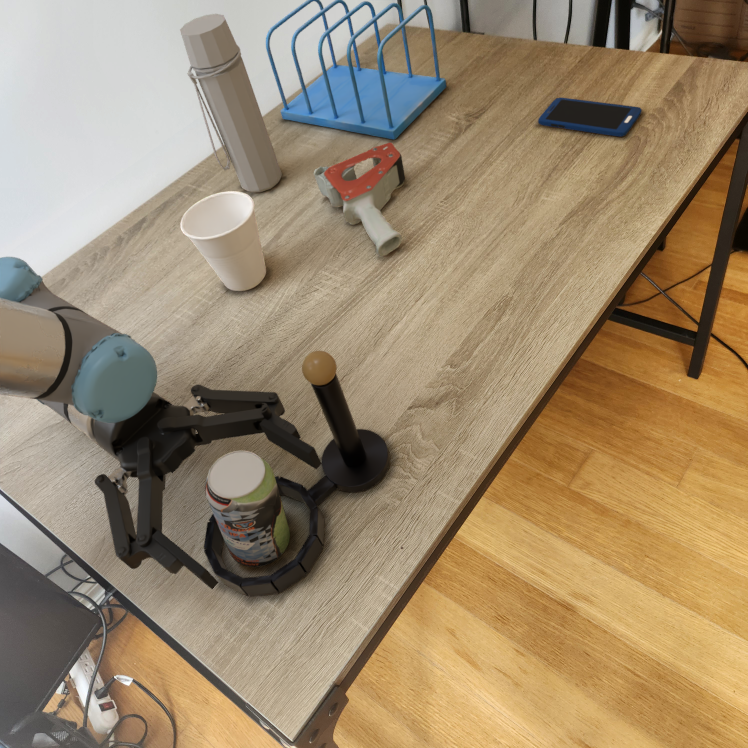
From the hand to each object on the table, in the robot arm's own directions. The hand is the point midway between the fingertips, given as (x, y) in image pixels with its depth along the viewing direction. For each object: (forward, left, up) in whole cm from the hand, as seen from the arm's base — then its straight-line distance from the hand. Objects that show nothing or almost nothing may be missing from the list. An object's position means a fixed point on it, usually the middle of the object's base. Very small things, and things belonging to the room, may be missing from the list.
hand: (265, 516), depth 56 cm
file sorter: (-35, +78, -8) cm, 86 cm away
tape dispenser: (-19, +50, -8) cm, 55 cm away
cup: (-29, +32, -8) cm, 44 cm away
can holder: (-2, +5, -8) cm, 10 cm away
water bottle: (-41, +52, -8) cm, 67 cm away
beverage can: (-3, 0, -8) cm, 9 cm away
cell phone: (+5, +79, -8) cm, 80 cm away
